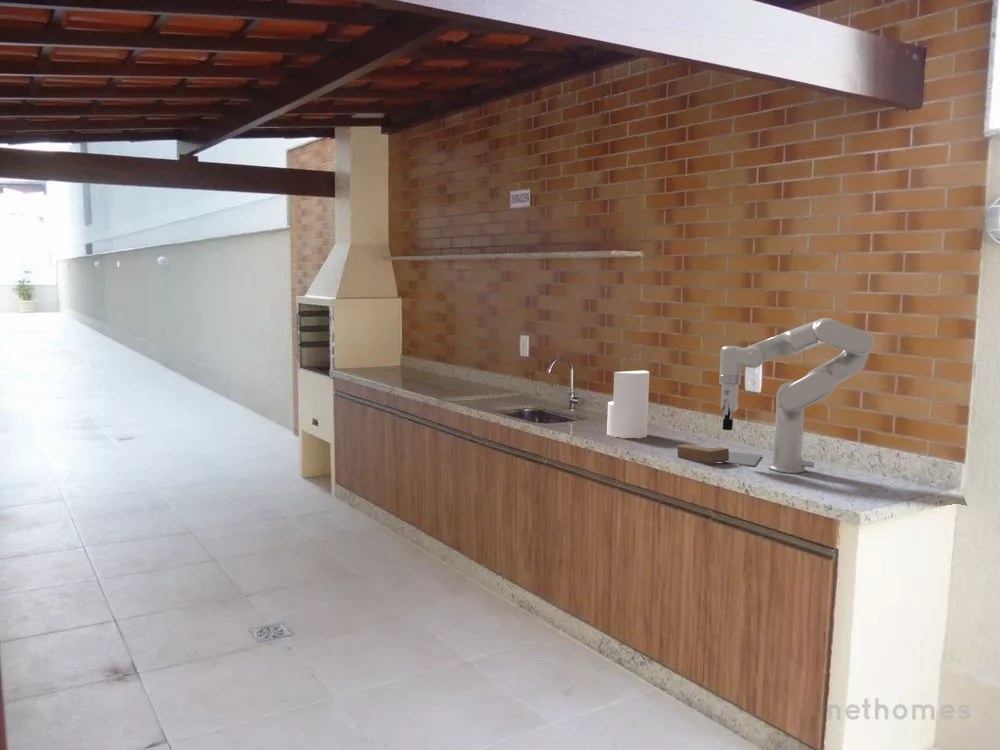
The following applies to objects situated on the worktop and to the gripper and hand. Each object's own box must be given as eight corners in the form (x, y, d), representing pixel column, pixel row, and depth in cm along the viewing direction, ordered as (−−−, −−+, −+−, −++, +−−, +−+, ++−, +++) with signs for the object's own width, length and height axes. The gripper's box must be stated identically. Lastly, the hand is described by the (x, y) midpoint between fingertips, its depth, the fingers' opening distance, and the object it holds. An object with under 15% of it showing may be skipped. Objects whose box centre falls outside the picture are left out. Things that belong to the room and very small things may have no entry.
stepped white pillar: (655, 436, 356) (657, 372, 353) (625, 440, 346) (628, 374, 343) (627, 430, 370) (630, 368, 367) (598, 433, 360) (600, 370, 357)
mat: (761, 456, 317) (761, 455, 317) (754, 466, 299) (754, 465, 299) (709, 451, 326) (709, 449, 326) (699, 461, 307) (699, 459, 307)
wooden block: (729, 460, 303) (694, 454, 318) (729, 448, 302) (694, 442, 318) (711, 463, 298) (677, 457, 313) (711, 451, 298) (676, 445, 313)
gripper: (737, 382, 290) (734, 433, 292) (743, 378, 303) (741, 427, 305) (715, 381, 293) (713, 431, 295) (723, 377, 306) (720, 425, 308)
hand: (727, 429), depth 300 cm, fingers closed
